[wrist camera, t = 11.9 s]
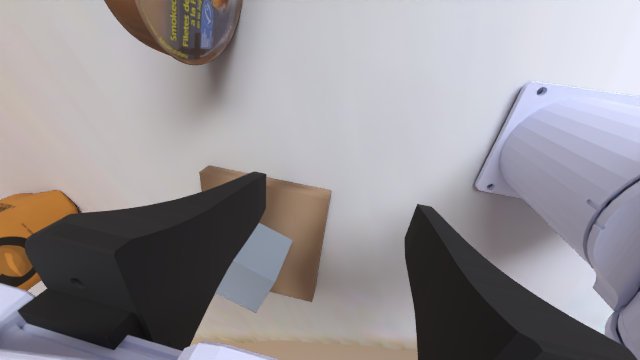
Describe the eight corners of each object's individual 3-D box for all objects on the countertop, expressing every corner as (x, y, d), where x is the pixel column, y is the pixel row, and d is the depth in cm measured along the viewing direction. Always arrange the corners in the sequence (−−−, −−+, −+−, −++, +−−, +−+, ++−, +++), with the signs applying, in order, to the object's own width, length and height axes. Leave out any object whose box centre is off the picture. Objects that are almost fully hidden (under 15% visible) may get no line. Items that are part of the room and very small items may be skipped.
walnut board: (331, 190, 22) (328, 199, 21) (314, 290, 29) (311, 302, 28) (208, 165, 24) (199, 172, 22) (220, 267, 30) (213, 276, 29)
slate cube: (292, 240, 24) (275, 282, 20) (275, 269, 26) (255, 312, 22) (246, 216, 24) (218, 253, 19) (233, 248, 26) (205, 288, 22)
